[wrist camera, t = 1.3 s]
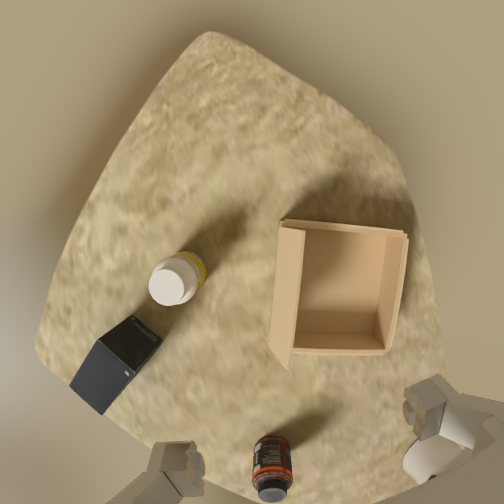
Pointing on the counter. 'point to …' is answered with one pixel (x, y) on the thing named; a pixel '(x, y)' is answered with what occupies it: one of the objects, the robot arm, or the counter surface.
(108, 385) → the small box
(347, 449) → the counter surface
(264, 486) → the supplement bottle
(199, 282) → the supplement bottle
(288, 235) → the flap
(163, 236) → the counter surface
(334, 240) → the carton
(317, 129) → the counter surface
